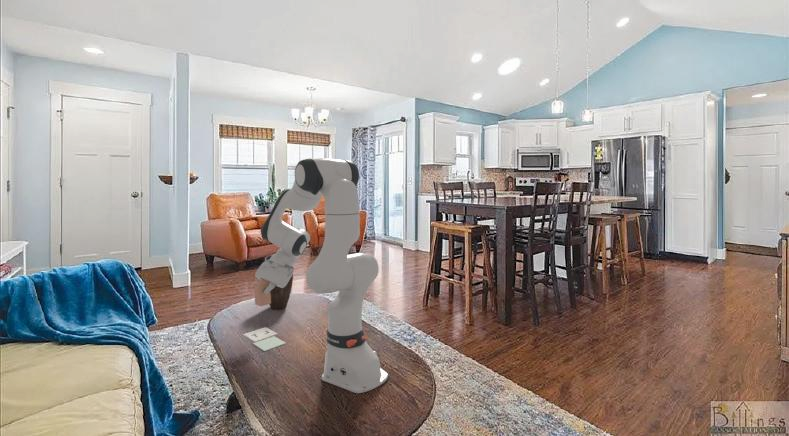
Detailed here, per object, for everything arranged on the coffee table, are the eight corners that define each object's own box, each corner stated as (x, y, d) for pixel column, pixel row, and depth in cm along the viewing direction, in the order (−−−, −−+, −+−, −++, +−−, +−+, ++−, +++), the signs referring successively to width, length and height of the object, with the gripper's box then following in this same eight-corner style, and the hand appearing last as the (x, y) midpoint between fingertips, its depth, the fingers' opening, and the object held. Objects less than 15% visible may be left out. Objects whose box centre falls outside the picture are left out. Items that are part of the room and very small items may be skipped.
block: (271, 303, 154) (269, 281, 152) (260, 306, 150) (259, 284, 149) (265, 301, 157) (264, 279, 156) (255, 303, 153) (253, 282, 152)
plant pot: (289, 312, 182) (288, 279, 180) (258, 312, 181) (256, 279, 180) (297, 301, 197) (296, 271, 195) (268, 302, 196) (266, 271, 194)
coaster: (286, 344, 148) (286, 342, 148) (264, 352, 141) (264, 350, 141) (274, 337, 154) (274, 336, 154) (252, 344, 148) (252, 343, 148)
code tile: (277, 334, 157) (277, 333, 157) (254, 342, 150) (254, 341, 150) (265, 327, 164) (265, 327, 164) (242, 334, 157) (242, 334, 156)
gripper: (300, 271, 153) (279, 301, 147) (274, 263, 167) (254, 291, 161) (290, 262, 149) (268, 292, 143) (264, 255, 163) (243, 282, 158)
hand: (260, 291), depth 152 cm, fingers closed on block, 4 cm apart
